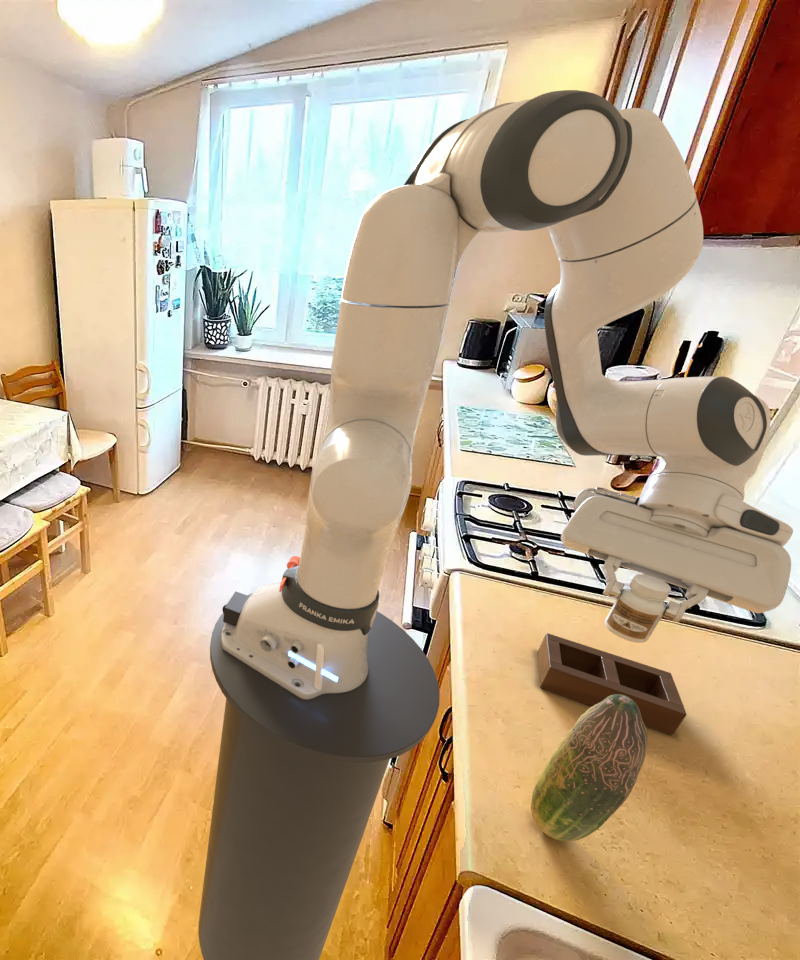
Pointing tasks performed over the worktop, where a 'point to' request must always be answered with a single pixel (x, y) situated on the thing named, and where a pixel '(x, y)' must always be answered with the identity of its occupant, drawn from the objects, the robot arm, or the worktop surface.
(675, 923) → the worktop surface
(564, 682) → the holder
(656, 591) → the pill bottle
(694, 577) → the robot arm
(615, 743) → the vegetable
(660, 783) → the worktop surface
